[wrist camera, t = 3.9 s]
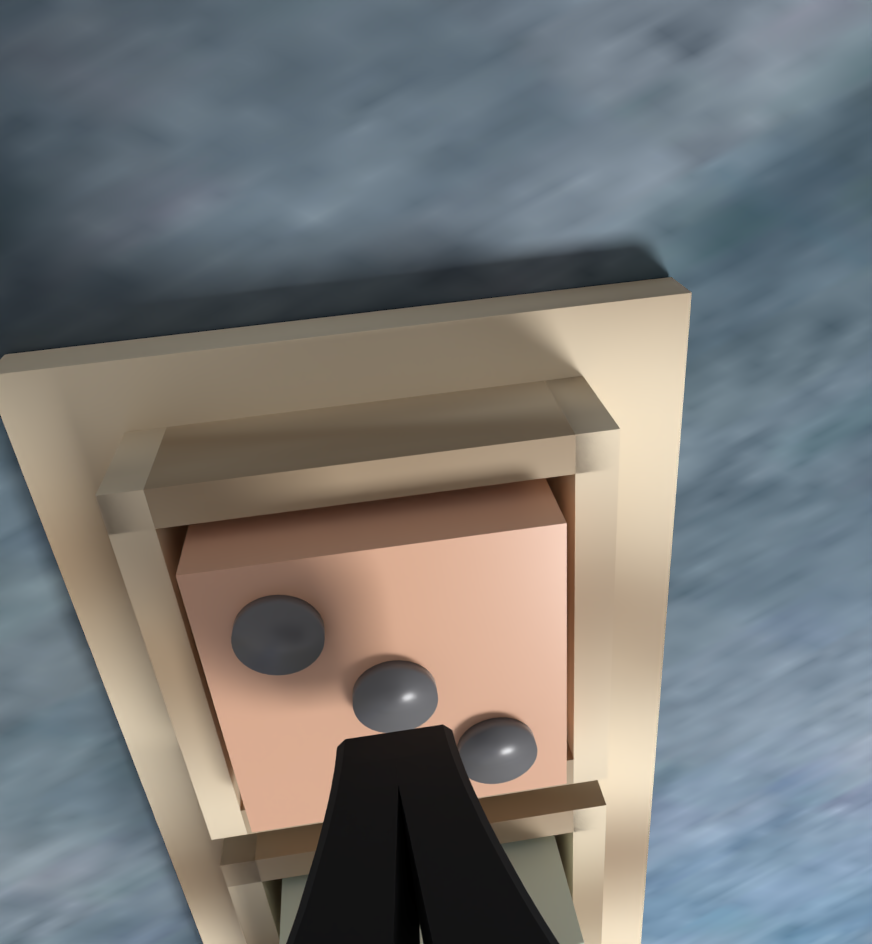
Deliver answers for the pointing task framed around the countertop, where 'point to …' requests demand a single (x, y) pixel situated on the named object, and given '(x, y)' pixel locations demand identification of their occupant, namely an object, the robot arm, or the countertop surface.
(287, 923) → the tile two
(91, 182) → the countertop surface
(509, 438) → the tile board
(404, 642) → the tile three
